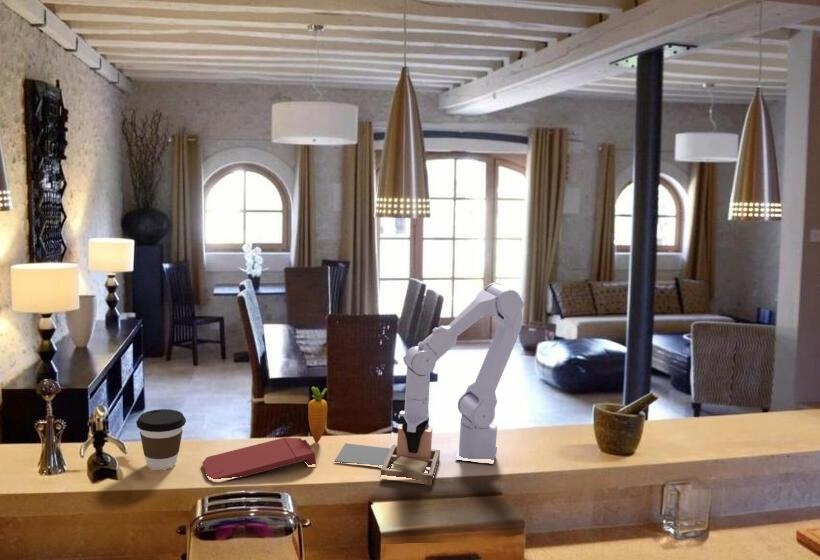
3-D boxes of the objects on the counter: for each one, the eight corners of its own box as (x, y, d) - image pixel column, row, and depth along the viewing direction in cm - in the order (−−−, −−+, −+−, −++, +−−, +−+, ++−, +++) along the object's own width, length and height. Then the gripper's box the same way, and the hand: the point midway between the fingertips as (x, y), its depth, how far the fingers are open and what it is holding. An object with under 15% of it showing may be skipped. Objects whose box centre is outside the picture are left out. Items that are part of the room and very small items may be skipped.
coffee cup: (130, 461, 184) (129, 413, 182) (175, 452, 190) (175, 405, 188) (146, 479, 175) (145, 428, 173) (193, 468, 182) (193, 419, 180)
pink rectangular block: (430, 462, 193) (432, 427, 191) (428, 467, 190) (430, 432, 188) (398, 458, 194) (400, 424, 192) (396, 463, 191) (398, 428, 189)
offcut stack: (428, 475, 186) (428, 461, 185) (421, 483, 181) (422, 469, 180) (396, 468, 188) (397, 454, 188) (388, 477, 184) (389, 462, 183)
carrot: (328, 439, 203) (330, 384, 200) (324, 446, 198) (326, 390, 195) (309, 437, 203) (311, 382, 201) (304, 445, 199) (306, 388, 196)
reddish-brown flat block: (212, 499, 176) (318, 470, 185) (208, 480, 175) (316, 451, 184) (204, 477, 187) (305, 450, 196) (200, 458, 186) (302, 432, 194)
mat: (391, 450, 198) (391, 448, 198) (383, 468, 187) (383, 466, 187) (345, 445, 200) (345, 443, 200) (334, 463, 189) (334, 460, 189)
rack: (439, 459, 194) (439, 450, 194) (431, 485, 180) (432, 475, 179) (391, 454, 196) (392, 444, 196) (380, 479, 181) (380, 469, 181)
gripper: (405, 385, 196) (402, 436, 199) (395, 404, 182) (392, 459, 185) (433, 388, 195) (430, 439, 198) (425, 407, 181) (422, 462, 184)
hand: (414, 449), depth 191 cm, fingers closed on pink rectangular block, 3 cm apart
